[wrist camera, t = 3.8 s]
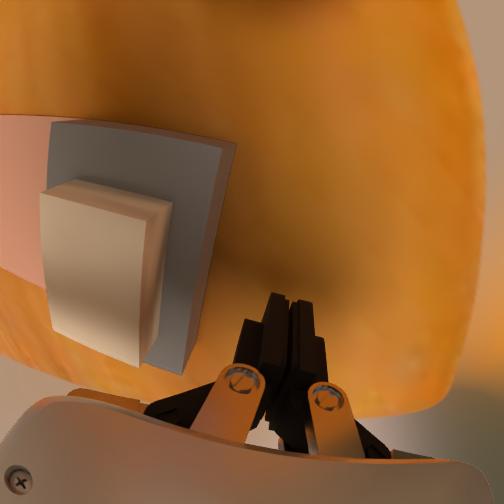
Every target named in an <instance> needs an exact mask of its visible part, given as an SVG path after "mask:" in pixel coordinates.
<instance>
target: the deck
mask: <svg viewBox="0 0 504 504" xmlns="http://www.w3.org/2000/svg"><path fill="white" fill-rule="evenodd" d="M235 148H236V143H231V142H227V141H222V140H218V139H213V138H208V137H203V136H198V135H193V134H188V133H183V132H177V131H172V130H166V129H160V128H154V127H147V126H140V125H134V124H126V123H119V122H110V121H102V120H92V119H79V120H67V121H56V122H51V129H50V138H49V149H48V163H47V186H46V190H48V189H50V188H53V187H56V186H58V185H61V184H64V183H66V182H69V181H72V180H75V179H77V180H82V181H86V182H91V183H95V184H100V185H104V186H108V187H113V188H117V189H121V190H125V191H130V192H134V193H138V194H142V195H146V196H150V197H154V198H158V199H163V200H167V201H171V202H173V207H172V214H171V221H170V228H169V235H168V242H167V250H166V258H165V267H164V276H163V285H162V295H161V306H160V318H159V332H158V337H157V338H156V340H155V342H154V343H153V345H152V347H151V349H150V350H149V352H148V354H147V355H146V357H145V359H144V361H143V363H146V364H149V365H152V366H154V367H157V368H160V369H163V370H166V371H169V372H172V373H175V374H178V375H181V376H182V374H183V371H184V369H185V366H186V364H187V362H188V359H189V357H190V355H191V352H192V350H193V348H194V345H195V343H196V338H197V332H198V326H199V321H200V315H201V310H202V304H203V299H204V294H205V288H206V283H207V278H208V273H209V268H210V263H211V258H212V253H213V248H214V243H215V238H216V233H217V229H218V224H219V219H220V215H221V210H222V205H223V201H224V196H225V192H226V187H227V183H228V178H229V174H230V170H231V165H232V161H233V157H234V152H235Z"/></svg>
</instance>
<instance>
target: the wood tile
mask: <svg viewBox="0 0 504 504" xmlns="http://www.w3.org/2000/svg"><path fill="white" fill-rule="evenodd" d="M172 207H173V202H171V201H167V200H163V199H158V198H154V197H150V196H146V195H142V194H138V193H134V192H130V191H125V190H121V189H117V188H113V187H108V186H104V185H100V184H95V183H91V182H86V181H82V180H77V179H75V180H72V181H69V182H66V183H64V184H61V185H58V186H56V187H53V188H50V189H48V190H45V191H43V192H40V232H41V247H42V259H43V269H44V278H45V285H46V293H47V299H48V305H49V311H50V317H51V322H52V327H53V330H54V331H56V332H58V333H60V334H62V335H64V336H66V337H68V338H70V339H72V340H74V341H76V342H78V343H81V344H83V345H85V346H87V347H89V348H91V349H94V350H96V351H98V352H101V353H103V354H105V355H108V356H110V357H112V358H115V359H117V360H120V361H122V362H125V363H127V364H130V365H132V366H135V367H138V368H140V366H141V364H142V362H143V361H144V359H145V357H146V355H147V354H148V352H149V350H150V349H151V347H152V345H153V343H154V342H155V340H156V338H157V337H158V332H159V318H160V306H161V295H162V285H163V276H164V267H165V258H166V250H167V242H168V235H169V228H170V221H171V214H172Z"/></svg>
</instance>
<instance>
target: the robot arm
mask: <svg viewBox="0 0 504 504" xmlns="http://www.w3.org/2000/svg"><path fill="white" fill-rule="evenodd" d="M265 411H266V414H265V421H269V430H273V431H275V432H276V434H277V435H278V436H279V437H280V438H279V440H278V449H279V450H277V449H271V448H266V447H261V446H255V445H250V444H245V441H246V438H247V435H248V433H249V431H250V430H252V429H254V428H256V427H257V425H258V423H259V421H260V420H261V419H262V417H263V415H264V413H265ZM31 475H32V476H31ZM0 504H495V503H494V499H493V496H492V493H491V490H490V487H489V485H488V482H487V480H486V478H485V476H484V474H483V473H482V472H481V471H480V470H479V469H478V468H476V467H474V466H472V465H470V464H467V463H463V462H460V461H455V460H447V459H435V458H432V457H428V456H422V455H418V454H412V453H408V452H404V451H399V450H395V449H393V450H392V451H389V449H388V448H387V447H386V446H385V445H384V444H383V443H382V442H381V441H380V440H378V439H377V438H376V437H375V436H374V435H372V434H371V433H370V432H369V431H368V430H366V428H364V427H363V426H362V425H361V424H360V423H359V422H357V421H356V420H355V419H354V417H353V413H352V410H351V407H350V403H349V400H348V397H347V395H346V393H345V392H344V391H343V390H342V389H341V388H339V387H338V386H337V385H334V384H332V383H329V382H328V372H327V362H326V352H325V342H324V338H322V337H317V336H315V328H314V316H313V304H312V302H308V301H304V300H300V299H299V300H298V301H297V302H292V304H291V307H290V309H289V300H285V296H284V295H280V294H277V293H273V292H271V295H270V298H269V301H268V304H267V307H266V310H265V313H264V316H263V319H262V322H261V323H260V322H256V321H252V320H249V319H245V320H244V323H243V327H242V330H241V334H240V337H239V341H238V345H237V348H236V352H235V356H234V360H233V364H231V365H228V366H226V367H225V368H224V369H223V370H222V371H221V373H220V374H219V376H218V378H217V380H216V381H215V382H212V383H210V384H207V385H204V386H201V387H198V388H195V389H192V390H189V391H186V392H183V393H180V394H177V395H174V396H171V397H168V398H164V399H161V400H158V401H155V402H153V403H151V404H150V405H149V404H143V403H140V400H137V399H132V398H126V397H121V396H116V395H112V394H107V393H102V392H98V391H94V390H90V389H83V388H79V389H75V390H73V391H71V392H70V393H68V395H67V396H52V397H47V398H44V399H42V400H40V401H38V402H36V403H35V404H34V405H32V406H31V407H30V408H29V409H28V410H27V411H26V412H25V413H24V414H23V415H22V416H21V417H20V418H19V419H18V421H17V422H16V423H15V424H14V426H13V427H12V428H11V429H10V431H9V432H8V433H7V435H6V436H5V438H4V439H3V441H2V442H1V444H0Z"/></svg>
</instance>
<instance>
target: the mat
mask: <svg viewBox="0 0 504 504" xmlns="http://www.w3.org/2000/svg"><path fill="white" fill-rule="evenodd" d="M79 119H82V118H70V117H56V116H38V115H0V267H2V268H3V269H5V270H7V271H9V272H11V273H13V274H15V275H17V276H19V277H21V278H23V279H25V280H27V281H29V282H31V283H33V284H35V285H37V286H39V287H41V288H43V289H45V290H46V285H45V278H44V269H43V259H42V247H41V232H40V192H43V191H45V190H46V186H47V163H48V149H49V138H50V129H51V122H56V121H67V120H79Z"/></svg>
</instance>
